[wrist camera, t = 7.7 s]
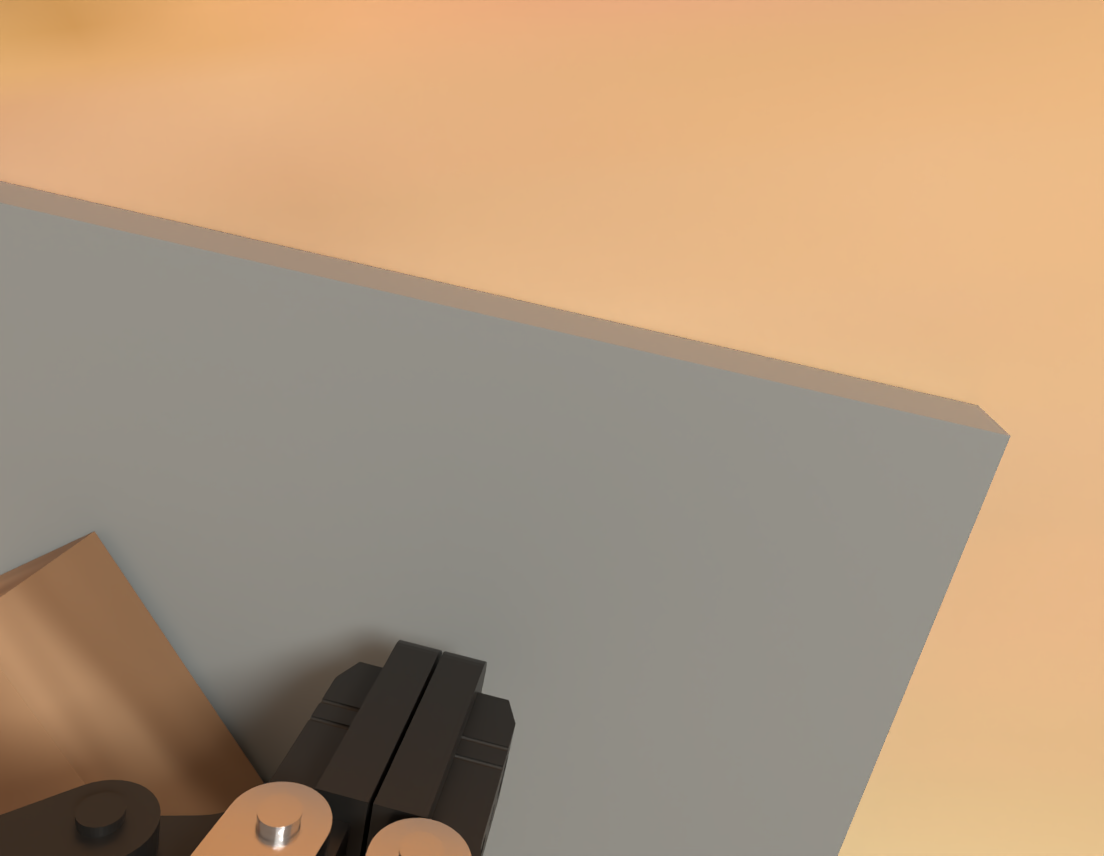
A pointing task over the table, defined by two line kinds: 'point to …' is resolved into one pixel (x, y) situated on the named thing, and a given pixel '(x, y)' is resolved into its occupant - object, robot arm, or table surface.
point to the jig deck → (488, 519)
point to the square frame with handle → (102, 692)
